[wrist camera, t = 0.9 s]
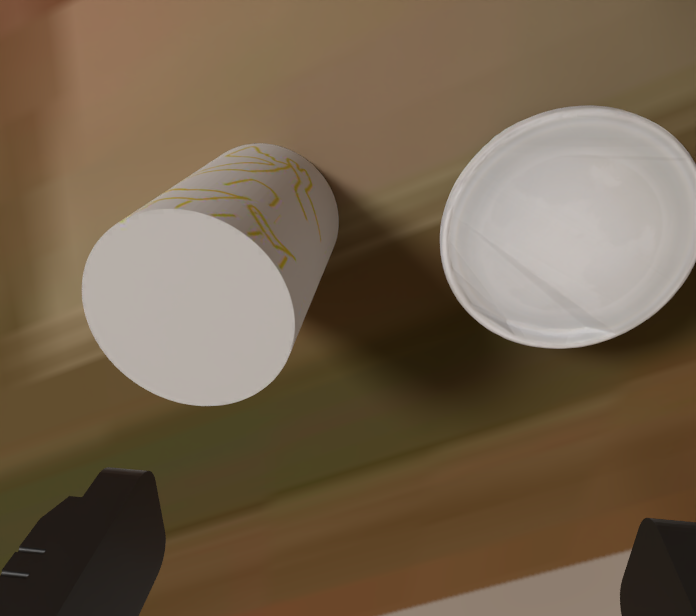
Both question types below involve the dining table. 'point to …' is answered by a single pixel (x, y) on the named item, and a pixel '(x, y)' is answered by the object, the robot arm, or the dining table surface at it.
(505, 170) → the ramekin
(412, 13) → the dining table surface
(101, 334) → the cup
